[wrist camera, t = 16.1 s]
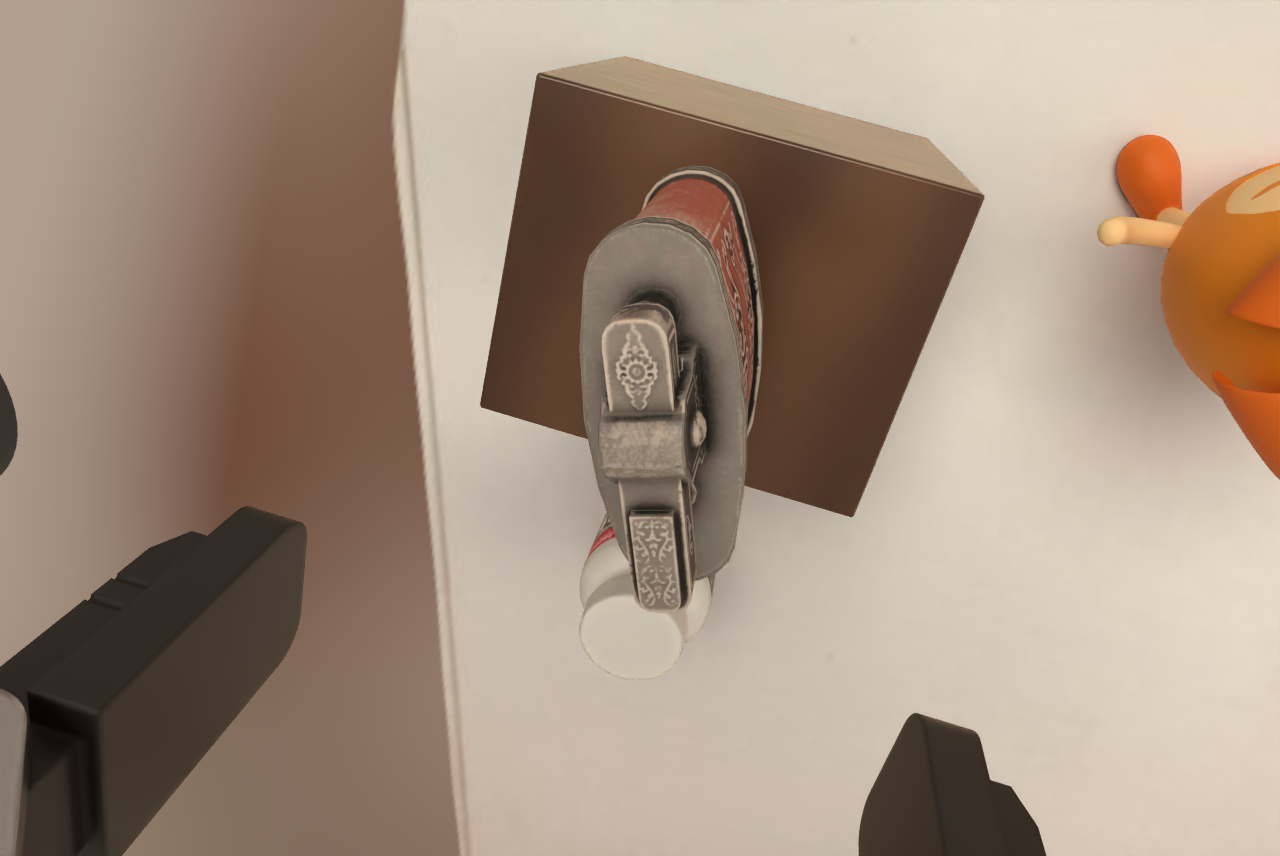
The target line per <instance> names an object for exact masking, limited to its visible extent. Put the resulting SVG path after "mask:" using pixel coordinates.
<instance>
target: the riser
mask: <svg viewBox="0 0 1280 856" xmlns="http://www.w3.org/2000/svg"><path fill="white" fill-rule="evenodd" d="M688 166H705V167H711V168H713V169H715V170H718V171H720V172H723V173H725V174H726V175H727V176H728V177H729V178H730V179H731V180H732V181H733V182H734V183H736V185H737V187H738V189H739V191H740V193H741V195H742V197H743V201H744V205H745V209H746V213H747V217H748V221H749V225H750V229H751V233H752V237H753V241H754V245H755V249H756V253H757V261H758V270H759V278H760V286H761V294H762V302H763V343H762V367H761V374H760V380H759V387H758V393H757V399H756V406H755V412H754V419H753V425H752V427H751V430H750V432H749V434H748V436H747V468H746V477H745V484H744V485H745V486H748V487H751V488H755V489H758V490H761V491H765V492H768V493H772V494H775V495H778V496H782V497H785V498H788V499H792V500H795V501H798V502H802V503H805V504H809V505H812V506H815V507H819V508H822V509H825V510H829V511H832V512H836V513H839V514H842V515H846V516H849V517H853V516H854V514H855V512H856V510H857V507H858V505H859V502H860V500H861V497H862V495H863V493H864V490H865V488H866V485H867V483H868V480H869V478H870V476H871V473H872V471H873V468H874V466H875V463H876V461H877V458H878V456H879V454H880V451H881V449H882V446H883V444H884V441H885V439H886V437H887V434H888V432H889V429H890V427H891V424H892V422H893V420H894V417H895V415H896V412H897V410H898V407H899V405H900V402H901V400H902V398H903V395H904V393H905V390H906V388H907V385H908V383H909V381H910V378H911V376H912V373H913V371H914V368H915V366H916V364H917V361H918V359H919V356H920V354H921V351H922V349H923V346H924V344H925V342H926V339H927V337H928V334H929V332H930V329H931V327H932V325H933V322H934V320H935V317H936V315H937V312H938V310H939V308H940V305H941V303H942V300H943V298H944V295H945V293H946V290H947V288H948V286H949V283H950V281H951V278H952V276H953V273H954V271H955V269H956V266H957V264H958V261H959V259H960V256H961V254H962V252H963V249H964V247H965V244H966V242H967V239H968V237H969V235H970V232H971V230H972V227H973V225H974V222H975V220H976V217H977V215H978V213H979V210H980V208H981V205H982V203H983V200H984V195H983V194H982V193H981V192H980V191H979V190H978V189H977V188H976V187H975V186H974V185H973V184H972V183H971V182H970V181H969V180H968V179H967V178H966V177H965V176H964V175H963V174H962V173H961V172H960V171H959V170H958V169H957V168H956V167H955V166H954V165H953V164H952V163H951V162H950V161H949V160H948V159H947V158H946V157H945V156H944V155H943V154H942V153H941V152H940V151H939V150H938V149H937V148H936V147H935V146H934V145H933V144H932V143H931V142H930V141H929V140H928V139H927V138H924V137H920V136H916V135H913V134H909V133H905V132H901V131H898V130H894V129H890V128H887V127H883V126H879V125H876V124H872V123H868V122H865V121H861V120H857V119H854V118H850V117H846V116H843V115H839V114H835V113H832V112H828V111H824V110H821V109H817V108H813V107H809V106H806V105H802V104H798V103H795V102H791V101H787V100H784V99H780V98H776V97H773V96H769V95H765V94H762V93H758V92H754V91H751V90H747V89H743V88H740V87H736V86H732V85H729V84H725V83H721V82H717V81H714V80H710V79H706V78H703V77H699V76H695V75H692V74H688V73H684V72H681V71H677V70H673V69H670V68H666V67H662V66H659V65H655V64H651V63H648V62H644V61H640V60H637V59H633V58H629V57H619V58H614V59H609V60H604V61H599V62H594V63H588V64H583V65H578V66H573V67H568V68H563V69H557V70H552V71H547V72H542V73H538V74H537V76H536V82H535V88H534V94H533V100H532V106H531V111H530V117H529V123H528V129H527V135H526V141H525V146H524V152H523V158H522V164H521V170H520V176H519V181H518V187H517V193H516V199H515V205H514V210H513V216H512V222H511V228H510V234H509V240H508V245H507V251H506V257H505V263H504V269H503V275H502V280H501V286H500V292H499V298H498V304H497V310H496V315H495V321H494V327H493V333H492V339H491V345H490V350H489V356H488V362H487V368H486V374H485V379H484V385H483V391H482V397H481V403H480V405H481V407H482V408H485V409H489V410H492V411H495V412H499V413H502V414H505V415H509V416H512V417H515V418H519V419H522V420H526V421H529V422H532V423H536V424H539V425H542V426H546V427H549V428H553V429H556V430H559V431H563V432H566V433H569V434H573V435H576V436H579V437H583V438H586V439H588V436H587V431H586V427H585V422H584V410H583V394H582V378H581V363H580V334H581V317H582V300H583V283H584V273H585V270H586V266H587V263H588V259H589V256H590V255H591V254H592V253H593V251H594V250H595V249H596V247H597V246H598V245H599V244H600V242H601V241H602V240H603V239H604V238H605V237H606V236H607V235H608V234H609V233H610V232H611V231H613V230H614V229H616V228H617V227H619V226H621V225H622V224H624V223H626V222H627V221H630V220H634V219H635V218H636V216H637V215H638V214H639V213H640V212H641V211H642V208H643V205H644V202H645V198H646V196H647V195H648V193H649V192H650V191H651V189H652V188H653V187H654V186H655V184H656V183H657V182H658V181H659V180H660V179H661V178H662V177H664V176H666V175H667V174H669V173H670V172H672V171H674V170H675V169H679V168H684V167H688Z"/></svg>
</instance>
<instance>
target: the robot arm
mask: <svg viewBox="0 0 1280 856" xmlns="http://www.w3.org/2000/svg"><path fill="white" fill-rule="evenodd" d="M306 542H307V531H306V527H305V525H304V524H303V523H302V522H298V521H295V520H292V519H288V518H285V517H282V516H279V515H276V514H272V513H269V512H266V511H263V510H259V509H256V508H253V507H248V506H246V507H242V508H241V509H239V510H237V511H236V512H235V513H234V514H233V515H231V516H230V517H229V518H228V519H227V520H226V521H224V522H223V523H222V524H221V525H220V526H218V527H217V528H216V529H215V530H214V531H213V532H211V533H210V534H209V535H208V536H206V535H203V534H200V533H196V532H193V531H191V532H188V533H186V534H183V535H181V536H178V537H176V538H173V539H171V540H168V541H166V542H163V543H161V544H158V545H156V546H153V547H151V548H149V549H148V550H146V551H145V552H144V553H143V554H141V555H140V556H139V557H138V558H136V559H135V560H134V561H133V562H131V563H130V564H129V565H128V566H126V567H125V568H124V569H123V570H121V571H120V572H119V573H118V575H117V577H116V579H112V578H111V579H110V580H109V581H107V582H106V583H105V584H104V585H102V586H101V587H100V588H99V589H97V590H96V591H95V592H94V593H92V594H91V598H90V599H89V600H88V601H87V600H84V601H82V602H81V603H80V604H79V605H77V606H76V607H75V608H74V609H72V610H71V611H70V612H69V613H67V614H66V615H65V616H63V617H62V618H61V619H60V620H59V621H57V622H56V623H55V624H53V625H52V626H51V627H50V628H48V629H47V630H46V631H45V632H43V633H42V634H41V635H40V636H38V637H37V638H36V639H35V640H33V641H32V642H31V643H30V644H29V645H27V646H26V647H25V648H23V649H22V650H21V651H20V652H18V653H17V654H16V655H15V656H13V657H12V658H11V659H10V660H8V661H7V662H6V663H5V664H3V665H2V666H1V667H0V856H122V855H123V853H124V852H125V851H126V850H127V848H128V847H129V846H130V845H131V844H132V843H133V841H134V840H135V839H136V837H137V836H138V835H139V834H140V833H141V832H142V830H143V829H144V828H145V827H146V826H147V824H148V823H149V822H150V821H151V820H152V818H153V817H154V816H155V815H156V813H157V812H158V811H159V810H160V809H161V807H162V806H163V805H164V804H165V802H166V801H167V800H168V799H169V798H170V796H171V795H172V794H173V793H174V792H175V790H176V789H177V788H178V787H179V785H180V784H181V783H182V782H183V781H184V779H185V778H186V777H187V776H188V775H189V773H190V772H191V771H192V770H193V768H194V767H195V766H196V765H197V764H198V762H199V761H200V760H201V758H203V756H204V755H205V754H206V753H207V751H208V750H209V749H210V748H211V747H212V745H213V744H214V743H215V742H216V741H217V739H218V738H219V737H220V736H221V735H222V733H223V732H224V731H225V730H226V728H227V727H228V726H229V725H230V724H231V722H232V721H233V720H234V719H235V718H236V716H237V715H238V714H239V713H240V711H241V710H242V709H243V708H244V707H245V705H246V704H247V703H248V702H249V701H250V699H251V698H252V697H253V696H254V694H255V693H256V692H257V691H258V690H259V688H260V687H261V686H262V685H263V684H264V682H265V681H266V680H267V678H268V677H269V676H270V675H271V674H272V673H273V671H274V670H275V669H276V668H277V667H278V665H279V664H280V663H281V661H282V660H283V659H284V657H285V655H286V654H287V652H288V650H289V648H290V646H291V644H292V642H293V640H294V637H295V635H296V631H297V629H298V625H299V620H300V614H301V603H302V592H303V580H304V568H305V555H306ZM859 856H1046V853H1045V850H1044V846H1043V843H1042V839H1041V836H1040V832H1039V829H1038V826H1037V825H1036V823H1035V822H1034V820H1033V819H1032V817H1031V816H1030V814H1029V813H1028V811H1027V810H1026V808H1025V807H1024V805H1023V804H1022V802H1021V801H1020V799H1019V798H1018V796H1017V795H1016V794H1015V792H1014V791H1013V789H1012V788H1011V787H1010V786H1007V785H1004V784H1001V783H997V782H994V781H991V780H990V778H989V774H988V769H987V765H986V761H985V757H984V753H983V749H982V745H981V741H980V738H979V736H978V734H977V733H976V732H975V731H973V730H970V729H967V728H964V727H960V726H957V725H954V724H951V723H947V722H944V721H941V720H938V719H934V718H931V717H928V716H924V715H921V714H918V713H914V714H912V715H911V716H910V717H909V718H908V719H907V720H906V722H905V724H904V726H903V728H902V730H901V732H900V734H899V736H898V738H897V740H896V742H895V744H894V746H893V748H892V750H891V751H890V753H889V755H888V757H887V759H886V761H885V763H884V765H883V767H882V769H881V771H880V773H879V775H878V777H877V779H876V781H875V783H874V785H873V787H872V789H871V791H870V793H869V795H868V798H867V800H866V803H865V806H864V810H863V814H862V818H861V823H860V830H859Z"/></svg>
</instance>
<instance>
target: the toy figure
mask: <svg viewBox="0 0 1280 856" xmlns="http://www.w3.org/2000/svg"><path fill="white" fill-rule="evenodd" d="M1117 177H1118V181H1119V184H1120V187H1121V189H1122V191H1123V193H1124V194H1125V196H1126V198H1127V199H1128V201H1129V202H1130V204H1131V205H1132V207H1133V208H1134V210H1135V212H1136V213H1137V215H1138V217H1139V218H1136V217H1124V216H1119V217H1113V218H1110V219H1108V220H1105V221H1104V222H1103V223H1102V224H1101V225H1100V226H1099V228H1098V232H1097V235H1098V239H1099V240H1100V242H1101V243H1103V244H1104V245H1107V246H1115V245H1118V244H1136V245H1146V246H1155V247H1161V248H1167V249H1169V250H1168V253H1167V256H1166V259H1165V262H1164V267H1163V273H1162V278H1161V302H1162V307H1163V312H1164V317H1165V322H1166V325H1167V328H1168V330H1169V333H1170V335H1171V338H1172V340H1173V342H1174V345H1175V346H1176V348H1177V350H1178V351H1179V353H1180V354H1181V356H1182V357H1183V359H1184V360H1185V362H1186V363H1187V365H1188V366H1189V367H1190V369H1191V370H1192V371H1193V372H1194V373H1195V374H1196V375H1197V376H1198V377H1199V378H1200V379H1201V380H1202V381H1203V382H1204V383H1205V384H1206V385H1207V386H1208V387H1209V388H1210V389H1211V390H1212V391H1213V392H1214V393H1215V394H1217V395H1218V396H1219V397H1221V398H1222V399H1223V401H1224V403H1225V404H1226V406H1227V408H1228V409H1229V411H1230V413H1231V414H1232V416H1233V418H1234V419H1235V421H1236V422H1237V424H1238V425H1239V427H1240V429H1241V430H1242V432H1243V433H1244V435H1245V436H1246V438H1247V439H1248V440H1249V442H1250V443H1251V445H1252V446H1253V448H1254V449H1255V450H1256V452H1257V453H1258V455H1259V456H1260V457H1261V459H1262V460H1263V461H1264V462H1265V464H1266V465H1267V466H1268V468H1269V469H1270V470H1271V471H1272V472H1273V474H1274V475H1275V476H1276V477H1277V478H1279V479H1280V163H1278V164H1275V165H1271V166H1268V167H1265V168H1262V169H1259V170H1257V171H1254V172H1252V173H1250V174H1247V175H1245V176H1243V177H1241V178H1239V179H1237V180H1235V181H1233V182H1232V183H1230V184H1228V185H1227V186H1225V187H1223V188H1221V189H1220V190H1218V191H1217V192H1216V193H1214V194H1213V195H1212V196H1210V197H1209V198H1208V199H1206V200H1205V201H1204V202H1203V203H1202V204H1201V205H1200V206H1199V207H1198V208H1197V209H1196V210H1195V211H1194V212H1193V213H1192V214H1189V213H1187V212H1185V211H1182V197H1181V166H1180V161H1179V157H1178V154H1177V152H1176V150H1175V148H1174V147H1173V146H1172V144H1171V143H1170V142H1169V141H1167V140H1166V139H1165V138H1162V137H1160V136H1156V135H1145V136H1141V137H1138V138H1136V139H1134V140H1133V141H1131V142H1130V143H1129V144H1128V145H1127V146H1126V147H1125V148H1124V149H1123V151H1122V152H1121V154H1120V156H1119V159H1118V162H1117Z"/></svg>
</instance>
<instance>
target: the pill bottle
mask: <svg viewBox="0 0 1280 856" xmlns="http://www.w3.org/2000/svg"><path fill="white" fill-rule="evenodd" d="M714 578H715V574H713V575H711V576H708V577H706V578H704V579H701V580H698V581H695V583H694V588H693V593H692V598H691V602H690V604H689V605H688V607H687V608H686V609H684V610H683V611H681V612H676V613H655V612H648V611H646V610H644V609H642V608H640V607H639V605H638V604H637V603H636V602H635V600H634V596H633V593H632V586H631V578H630V570H629V562H628V561H627V559H626V557H625V556H624V554H623V553H622V551H621V549H620V548H619V545H618V542H617V539H616V536H615V534H614V531H613V528H612V525H611V522H610V519H609V516H608V514H607V513H606V515H605V517H604V520H603V522H602V525H601V527H600V529H599V532H598V534H597V537H596V539H595V541H594V543H593V546H592V548H591V551H590V553H589V555H588V557H587V560H586V562H585V564H584V567H583V570H582V575H581V579H580V596H581V601H582V604H583V607H584V612H583V615H582V619H581V622H580V628H579V629H580V640H581V643H582V646H583V648H584V650H585V652H586V653H587V655H588V656H589V658H590V659H591V660H592V661H593V662H594V663H595V664H596V665H597V666H599V667H600V668H601V669H603V670H605V671H606V672H608V673H610V674H612V675H615V676H617V677H620V678H624V679H631V680H646V679H651V678H655V677H658V676H660V675H662V674H664V673H666V672H667V671H669V670H670V669H671V668H672V667H673V666H674V665H675V664H676V662H677V661H678V659H679V657H680V655H681V653H682V649H683V645H684V643H685V642H687V641H688V640H689V639H691V638H692V637H693V636H694V635H695V634H696V633H697V632H698V631H699V630H700V628H701V627H702V625H703V624H704V622H705V620H706V617H707V615H708V612H709V608H710V603H711V597H712V591H713V584H714Z"/></svg>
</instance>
